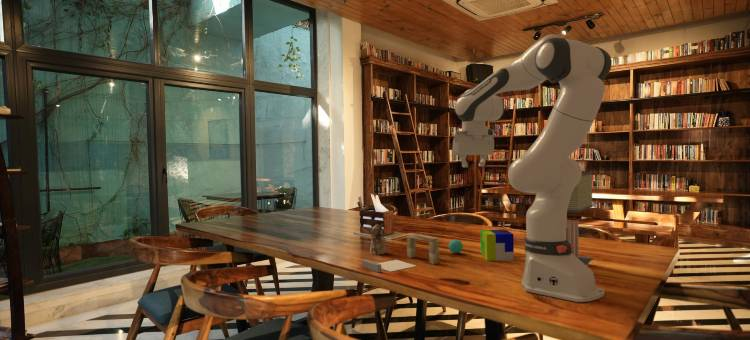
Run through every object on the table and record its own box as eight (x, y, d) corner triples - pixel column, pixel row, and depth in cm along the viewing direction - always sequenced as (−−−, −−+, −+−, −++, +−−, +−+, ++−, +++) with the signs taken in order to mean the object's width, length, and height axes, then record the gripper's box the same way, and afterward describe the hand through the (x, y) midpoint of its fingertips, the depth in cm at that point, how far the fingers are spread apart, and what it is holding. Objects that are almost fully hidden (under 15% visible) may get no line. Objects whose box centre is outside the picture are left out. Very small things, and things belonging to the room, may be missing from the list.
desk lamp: (579, 275, 135) (579, 174, 135) (535, 269, 144) (534, 174, 144) (593, 264, 149) (593, 172, 149) (552, 258, 158) (551, 172, 158)
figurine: (366, 252, 176) (366, 223, 176) (382, 250, 179) (381, 222, 179) (374, 255, 170) (373, 226, 170) (389, 253, 173) (389, 224, 173)
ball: (465, 253, 170) (465, 239, 170) (456, 255, 167) (455, 241, 167) (455, 251, 175) (455, 237, 175) (446, 253, 172) (445, 239, 172)
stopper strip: (381, 271, 145) (381, 264, 145) (377, 272, 144) (377, 265, 144) (365, 266, 153) (365, 259, 153) (362, 266, 152) (361, 259, 152)
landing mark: (416, 266, 151) (416, 265, 151) (390, 271, 144) (390, 271, 144) (396, 260, 161) (396, 259, 161) (370, 265, 154) (370, 264, 154)
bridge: (412, 255, 168) (412, 232, 168) (438, 263, 155) (438, 238, 155) (407, 257, 166) (406, 233, 166) (432, 264, 154) (432, 239, 154)
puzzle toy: (513, 260, 158) (513, 234, 157) (487, 260, 158) (486, 234, 158) (506, 254, 168) (505, 229, 167) (480, 254, 168) (480, 230, 168)
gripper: (461, 130, 154) (460, 167, 154) (497, 131, 165) (496, 166, 166) (448, 130, 159) (448, 167, 159) (484, 132, 171) (484, 165, 171)
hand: (473, 166), depth 163 cm, fingers open, 8 cm apart
